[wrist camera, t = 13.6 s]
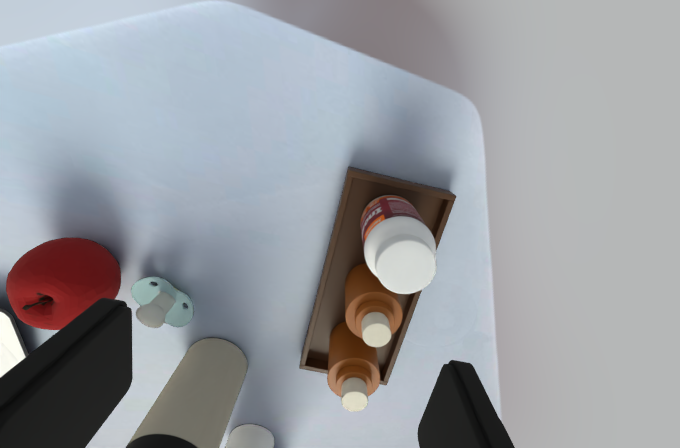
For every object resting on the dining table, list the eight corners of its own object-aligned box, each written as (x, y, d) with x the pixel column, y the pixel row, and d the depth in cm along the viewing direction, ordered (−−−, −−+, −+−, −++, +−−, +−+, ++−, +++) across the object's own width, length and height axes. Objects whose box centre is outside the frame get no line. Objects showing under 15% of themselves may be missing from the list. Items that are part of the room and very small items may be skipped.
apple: (43, 233, 37) (-60, 275, 28) (119, 221, 36) (41, 261, 27) (77, 303, 40) (-5, 363, 31) (148, 293, 39) (87, 351, 30)
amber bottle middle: (351, 257, 37) (354, 303, 28) (399, 268, 37) (416, 316, 29) (340, 299, 39) (339, 354, 30) (385, 309, 39) (397, 365, 31)
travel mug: (251, 341, 42) (188, 502, 25) (245, 389, 44) (184, 564, 27) (188, 331, 41) (79, 487, 24) (185, 380, 44) (86, 552, 27)
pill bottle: (366, 188, 34) (377, 222, 24) (423, 199, 35) (458, 238, 24) (354, 241, 36) (358, 294, 26) (408, 252, 37) (433, 308, 26)
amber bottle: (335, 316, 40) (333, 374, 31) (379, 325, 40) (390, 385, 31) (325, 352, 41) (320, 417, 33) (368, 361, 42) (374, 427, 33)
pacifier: (180, 330, 41) (206, 300, 40) (152, 367, 35) (181, 335, 34) (129, 295, 40) (154, 263, 38) (90, 329, 34) (118, 293, 32)
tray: (348, 166, 34) (348, 170, 32) (450, 191, 35) (456, 196, 33) (301, 356, 42) (299, 368, 40) (384, 373, 43) (386, 385, 41)
